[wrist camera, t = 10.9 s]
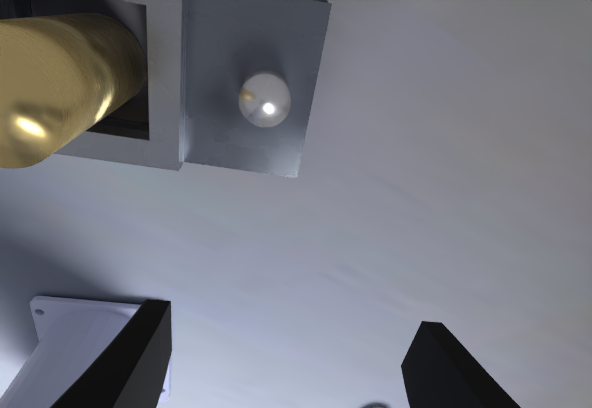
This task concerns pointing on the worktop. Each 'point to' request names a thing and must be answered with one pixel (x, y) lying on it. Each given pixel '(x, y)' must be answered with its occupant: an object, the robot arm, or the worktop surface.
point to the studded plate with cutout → (217, 86)
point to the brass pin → (61, 80)
